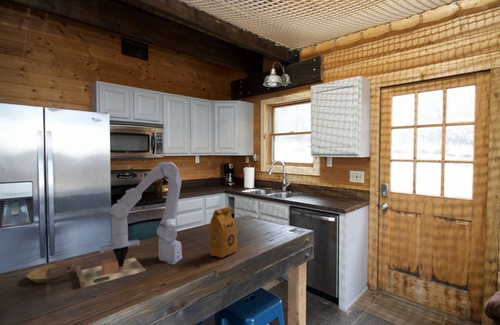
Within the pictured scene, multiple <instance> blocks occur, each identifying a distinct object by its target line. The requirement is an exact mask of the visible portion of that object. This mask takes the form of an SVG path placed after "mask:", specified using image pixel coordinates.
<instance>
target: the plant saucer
mask: <svg viewBox="0 0 500 325" xmlns="http://www.w3.org/2000/svg"><path fill="white" fill-rule="evenodd" d="M59 267H65V268H66V267H67V268H70V269H69V270H67V271H66V272H63V273H61V274H59V275H55V276H51V270H50V269H52V268H59ZM73 268H74V265H73V264H72V263H70V262H69V263H68V262H62V263H60V262H59V263H52V264H47V265H44V266H40V267H38V268H36V269H33V270H31V271H30V272H28V274H27V275H26V277H27V279H29V280H30V281H32V282H33V283H37V284H43V283H50V282H51V281H52V280H54V279H58V278H61V277H64V276H66V275H68V274H69V273H71V271H72V270H73Z"/></svg>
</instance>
